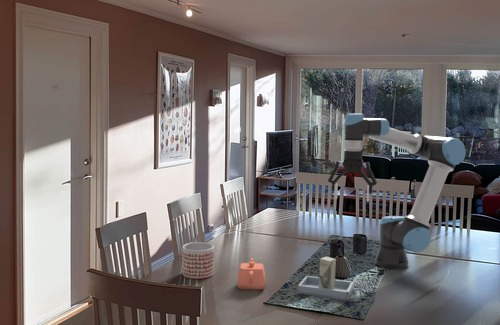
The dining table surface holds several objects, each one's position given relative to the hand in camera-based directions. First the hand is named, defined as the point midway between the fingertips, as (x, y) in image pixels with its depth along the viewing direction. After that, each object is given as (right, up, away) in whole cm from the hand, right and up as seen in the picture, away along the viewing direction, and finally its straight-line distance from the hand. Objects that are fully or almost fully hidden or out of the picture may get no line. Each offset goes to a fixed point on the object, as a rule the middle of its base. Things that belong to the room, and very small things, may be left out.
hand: (351, 200), depth 217 cm
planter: (-66, -34, +8) cm, 75 cm away
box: (-12, -35, -12) cm, 39 cm away
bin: (-13, -36, -12) cm, 40 cm away
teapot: (-43, -35, -6) cm, 56 cm away
